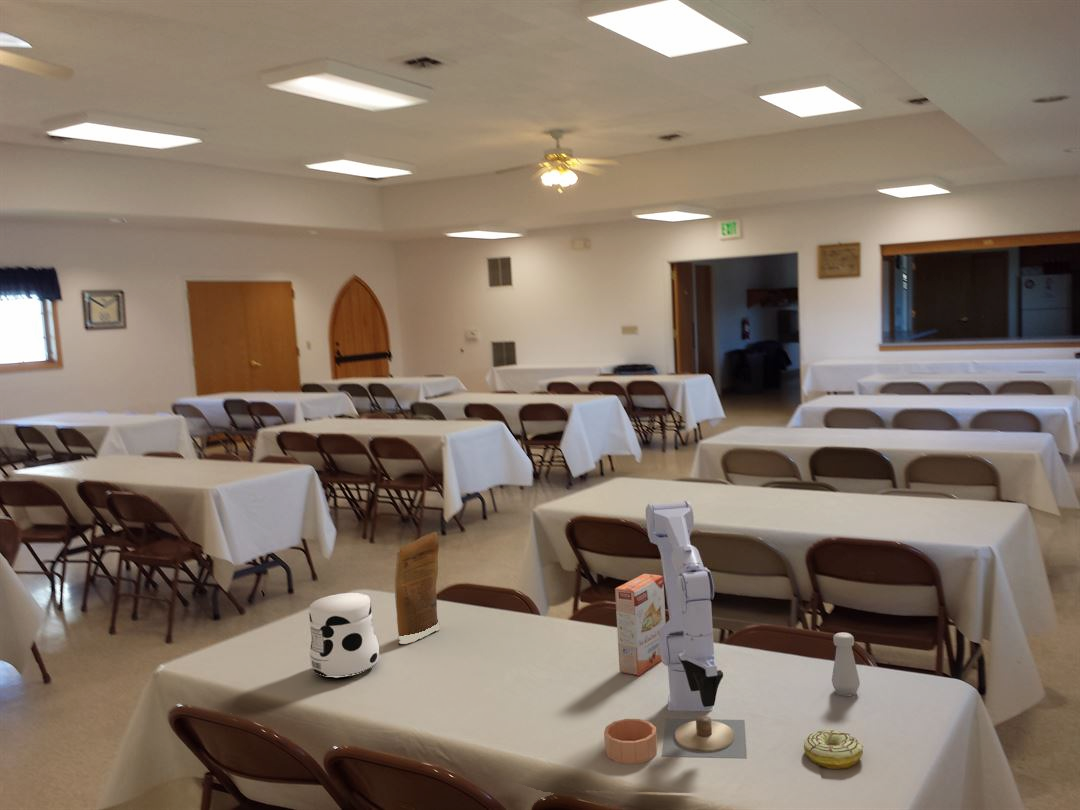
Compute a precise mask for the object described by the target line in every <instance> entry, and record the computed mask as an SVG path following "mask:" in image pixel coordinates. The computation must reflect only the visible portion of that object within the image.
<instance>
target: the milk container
mask: <svg viewBox="0 0 1080 810" xmlns="http://www.w3.org/2000/svg"><path fill="white" fill-rule="evenodd" d="M371 603H372V602H371V599H370V596H369V595H367V594H365V593H361V592H348V593H347V592H345V593H337V594H333V595H326V596H324V597H321V598H319V599H316V600H314V601H313V602H312V603H310V605H309V610H308V611H309V613H308V614H309V627H310V634H311V643H310V650H309V661H310V665H311V668H312V670H313V672H314V671H315V672H316V673H318V674H321V675H324V676H345V675H352V674H357V673H360V672H363V671H366V670H368V669H369V670H371V669H372V668H374V667H375V665H376V664H377V663H378V661H379V655H380V646H379V641H378V638H377V636H376V633H375V631H374V622H373V612H372V604H371ZM371 667H372V668H371ZM370 668H371V669H370ZM369 670H368V671H369ZM315 672H314V673H315ZM366 672H367V671H366ZM316 673H315V674H316ZM318 674H317V675H318Z"/></svg>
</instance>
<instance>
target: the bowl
mask: <svg viewBox="0 0 1080 810" xmlns="http://www.w3.org/2000/svg"><path fill="white" fill-rule="evenodd" d="M603 736H604V738H603V740H604V750H605V754H606V756H607V757H608V758H609V759H611V760H612V761H615V762H616V763H617V762H618V763H621V764H639V763H643V762H644V763H645V762H648V761H650V760H651V759H653V758H654V757H656V755H657V753H658V732H657V727H656V726H655V725H654V724H653V723H652V722H651V721H647V720H644V719H640V718H624V719H619V720H614V721H613V722H611V723H609V724H608V725H607V726H605V727H604V732H603Z"/></svg>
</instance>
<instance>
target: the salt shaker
mask: <svg viewBox="0 0 1080 810" xmlns="http://www.w3.org/2000/svg"><path fill="white" fill-rule="evenodd" d="M833 645H834V646H835V647H836V650H835V657H834V663H833V670H832V676H831V683H832V686H833V688H834V691H835V693H836V692H837V694H838V693H839V694H838V695H840V694H841V695H840V696H842V695H852V696H854V695H856V694H857V693H858V690H859V687H860V683H861V682H860V678H859V673H858V669H857V664H856V660H855V655H854V652H853V646H854V645H855V637H854V636H853V635H852V634H851V633H849V632H837V633H835V634H834V635H833ZM855 693H856V694H855ZM853 694H854V695H853Z"/></svg>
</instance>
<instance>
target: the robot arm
mask: <svg viewBox="0 0 1080 810" xmlns="http://www.w3.org/2000/svg"><path fill="white" fill-rule="evenodd" d="M694 519H695V516H694V510H693V506H692V504H691V502H690V501H689V500H684V501H677V502H666V503H653V504H652V503H648V504H647V505H646V507H645V521H646V529H647V537H648V539H649V542H650V543H652V544H654V545H655V546H657V548H658V551H659V554H660V559H661V568H662V574H663V575H662V576H663V580H664V590H665V597H666V604H667V610H668V617H669V619H668V621H666V624H665V625H664V626H662V628H661V629H660V632H659V649H660V656H661V663H662V664H663V665H664V666H667V672H668V687H669V695H668V703H667V711H671V712H675V711H676V712H713V710H714V708H713V707H714V706H715V703H716V699H717V693H718V688H719V686H720V683H721V681H722V679H723V678H724V672H723V671H722V670H721V669H718V666H717V665H716V652H715V647H714V646H715V645H714V644H715V643H714V631H713V628H714V627H713V615H712V601H711V600H713V599H714V597H715V585H714V580H713V576H712V573H711V572H712V571H710V569H708V567H705V566H704V563H703V561H702V557H701V555H700V551H699V550H698V548H697V547H696V546H694V545H692V544H691V539H690V538H691V534H692V531H693V526H694V521H695V520H694ZM672 634H673V635H672Z"/></svg>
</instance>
